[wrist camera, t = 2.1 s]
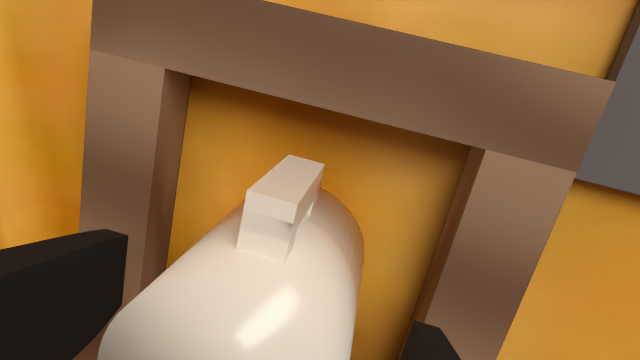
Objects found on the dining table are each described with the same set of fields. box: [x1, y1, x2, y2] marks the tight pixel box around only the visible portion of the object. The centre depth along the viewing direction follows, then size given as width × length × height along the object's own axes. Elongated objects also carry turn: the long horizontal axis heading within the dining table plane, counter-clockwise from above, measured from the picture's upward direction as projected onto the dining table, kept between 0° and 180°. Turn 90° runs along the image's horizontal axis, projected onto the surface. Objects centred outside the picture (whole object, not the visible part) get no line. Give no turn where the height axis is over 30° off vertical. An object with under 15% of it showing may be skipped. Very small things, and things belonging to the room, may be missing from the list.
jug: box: [97, 155, 364, 360], centre depth 10 cm, size 6×5×6 cm
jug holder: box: [72, 0, 616, 360], centre depth 13 cm, size 13×13×2 cm
